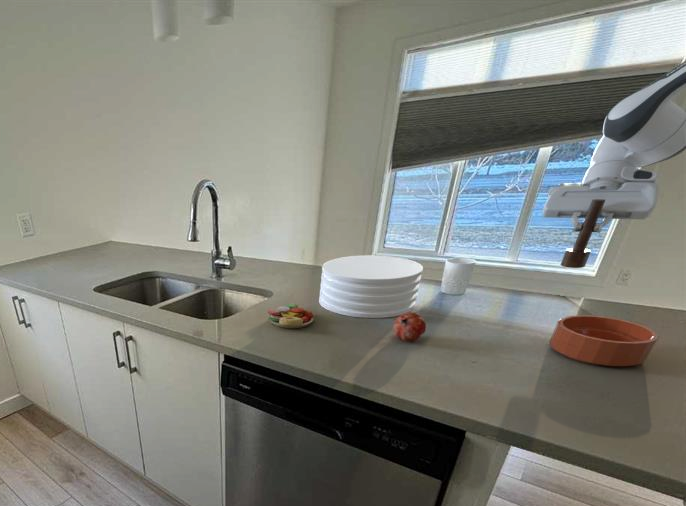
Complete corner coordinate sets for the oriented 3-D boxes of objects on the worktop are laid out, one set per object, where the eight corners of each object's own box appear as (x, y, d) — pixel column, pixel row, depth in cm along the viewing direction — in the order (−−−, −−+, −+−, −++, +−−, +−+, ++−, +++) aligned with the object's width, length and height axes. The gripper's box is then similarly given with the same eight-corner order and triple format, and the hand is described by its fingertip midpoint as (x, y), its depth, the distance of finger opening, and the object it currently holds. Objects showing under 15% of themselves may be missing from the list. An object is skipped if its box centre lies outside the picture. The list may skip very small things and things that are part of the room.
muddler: (579, 263, 108) (605, 197, 100) (588, 268, 104) (617, 200, 96) (556, 263, 109) (581, 199, 101) (565, 268, 105) (591, 201, 97)
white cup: (451, 286, 135) (459, 256, 130) (473, 292, 129) (482, 261, 124) (432, 290, 133) (439, 260, 128) (453, 297, 127) (462, 265, 122)
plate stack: (374, 325, 113) (381, 285, 107) (300, 301, 134) (303, 267, 129) (434, 302, 124) (443, 265, 118) (357, 283, 146) (362, 251, 140)
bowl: (617, 340, 95) (629, 316, 92) (662, 372, 82) (678, 345, 79) (536, 337, 99) (545, 314, 96) (567, 366, 87) (579, 341, 84)
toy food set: (290, 334, 113) (291, 323, 111) (258, 321, 123) (258, 311, 121) (322, 321, 119) (324, 311, 117) (289, 310, 128) (289, 300, 127)
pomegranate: (399, 339, 109) (379, 324, 104) (420, 317, 107) (400, 300, 102) (419, 353, 103) (398, 337, 99) (441, 330, 101) (421, 313, 96)
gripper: (553, 175, 107) (535, 221, 105) (669, 172, 94) (649, 224, 93) (549, 192, 111) (532, 235, 110) (658, 191, 99) (639, 240, 98)
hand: (586, 230), depth 101 cm, fingers closed on muddler, 2 cm apart
